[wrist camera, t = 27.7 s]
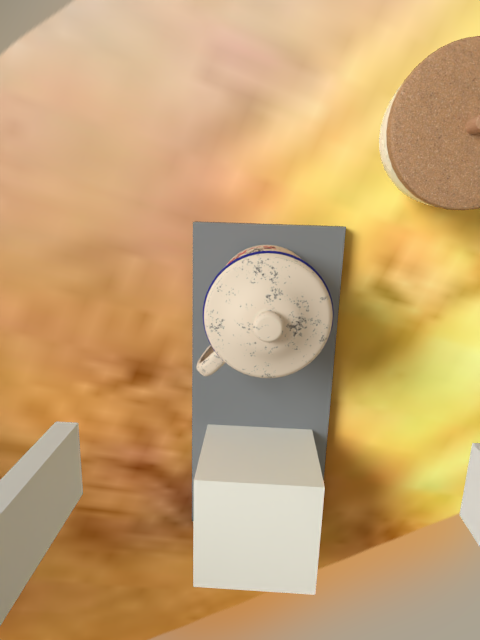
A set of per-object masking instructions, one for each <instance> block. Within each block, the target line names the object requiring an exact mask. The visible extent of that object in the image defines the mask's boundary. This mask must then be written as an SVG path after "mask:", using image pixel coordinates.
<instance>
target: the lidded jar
mask: <svg viewBox="0 0 480 640" xmlns="http://www.w3.org/2000/svg"><path fill="white" fill-rule="evenodd" d="M379 151H380V156H381V161H382V164H383V167H384V170H385V171H386V173H387V175H388V177H389V178H390V180H391V181H392V182H393V184H394V185H395V186H396V187H397V188H398V189H399V190H400V191H401V192H402V193H404V194H405V195H407V196H408V197H410V198H411V199H413V200H416V201H418V202H420V203H423V204H425V205H429V206H434V207H439V208H444V209H450V210H469V209H477V208H480V36H476V37H468V38H464V39H461V40H457V41H454V42H452V43H449V44H447V45H445V46H443V47H441V48H439V49H438V50H436V51H435V52H433V53H432V54H431V55H429V56H428V57H427V58H425V59H424V60H423V61H422V62H421V63H420V64H419V65H418V66H417V67H416V68H415V69H414V70H413V71H412V72H411V73H410V75H409V76H408V77H407V78H406V79H405V81H404V82H403V83H402V85H401V86H400V87H399V88H398V89H397V91H396V93H395V94H394V96H393V98H392V99H391V101H390V103H389V104H388V107H387V109H386V111H385V114H384V116H383V120H382V124H381V128H380V136H379Z"/></svg>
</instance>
